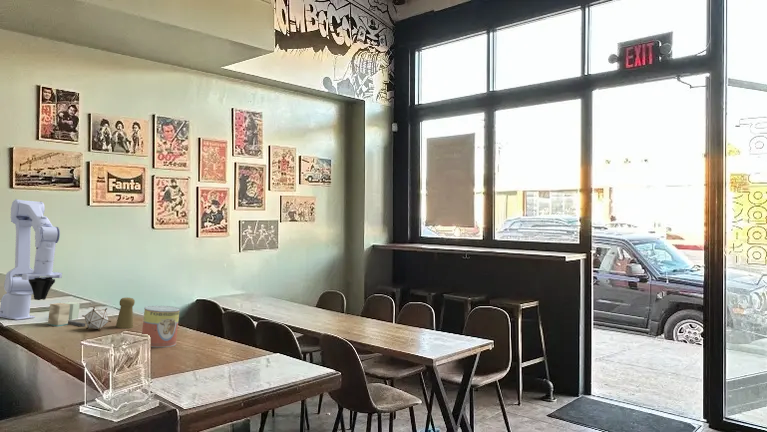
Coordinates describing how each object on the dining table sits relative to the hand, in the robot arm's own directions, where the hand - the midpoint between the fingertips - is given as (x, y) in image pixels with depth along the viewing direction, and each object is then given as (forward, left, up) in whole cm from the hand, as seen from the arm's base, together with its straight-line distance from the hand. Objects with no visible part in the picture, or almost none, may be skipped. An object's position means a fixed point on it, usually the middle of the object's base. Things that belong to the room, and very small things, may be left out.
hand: (39, 299), depth 196 cm
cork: (+18, +22, -10) cm, 30 cm away
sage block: (-7, +21, -10) cm, 24 cm away
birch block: (0, +9, -10) cm, 13 cm away
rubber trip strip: (0, +13, -10) cm, 16 cm away
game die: (+15, +11, -10) cm, 21 cm away
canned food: (+45, +7, -10) cm, 47 cm away
